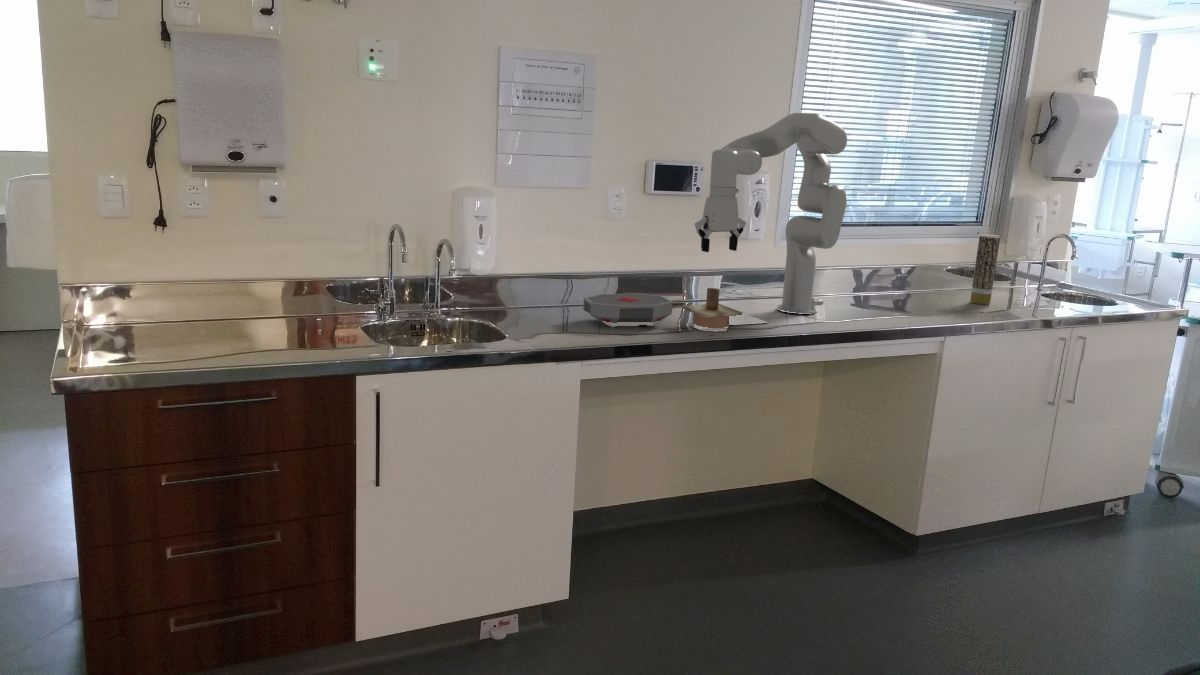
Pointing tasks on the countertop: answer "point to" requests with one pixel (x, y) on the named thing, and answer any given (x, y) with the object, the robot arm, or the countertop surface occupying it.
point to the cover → (712, 306)
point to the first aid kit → (628, 307)
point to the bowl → (711, 321)
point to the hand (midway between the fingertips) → (719, 250)
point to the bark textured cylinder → (985, 269)
